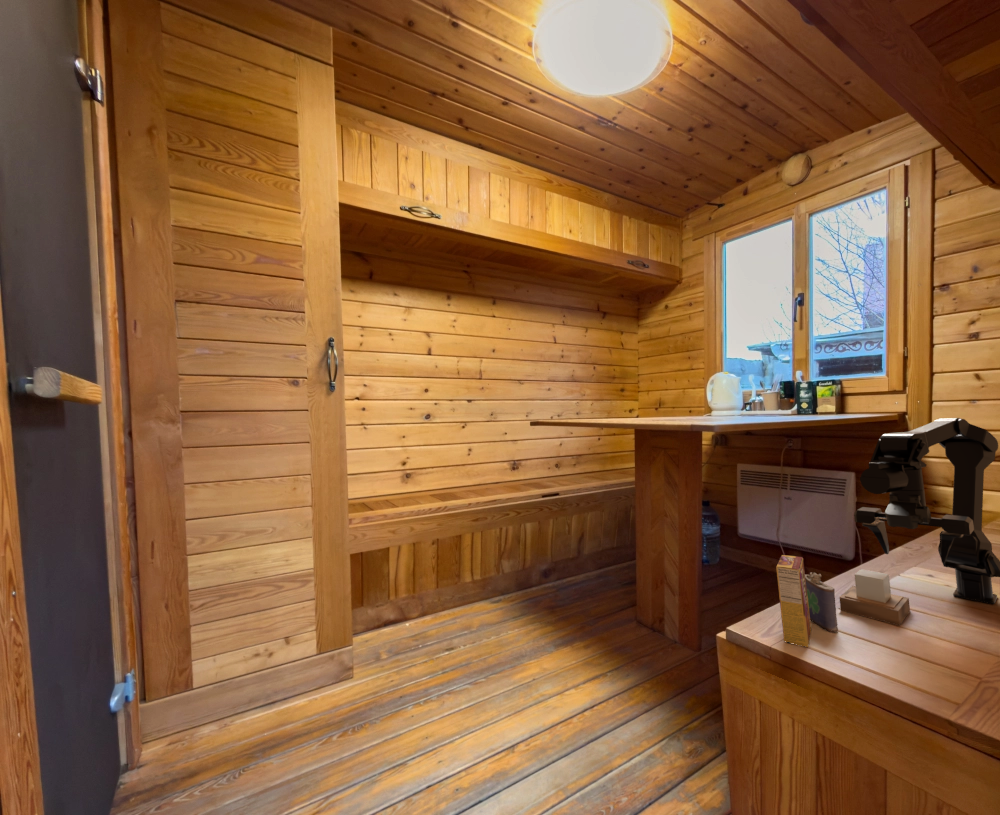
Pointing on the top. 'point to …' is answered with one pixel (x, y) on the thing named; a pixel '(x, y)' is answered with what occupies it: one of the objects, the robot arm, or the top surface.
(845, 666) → the top surface
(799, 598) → the candy box
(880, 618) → the walnut plinth
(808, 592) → the flask
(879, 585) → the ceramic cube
